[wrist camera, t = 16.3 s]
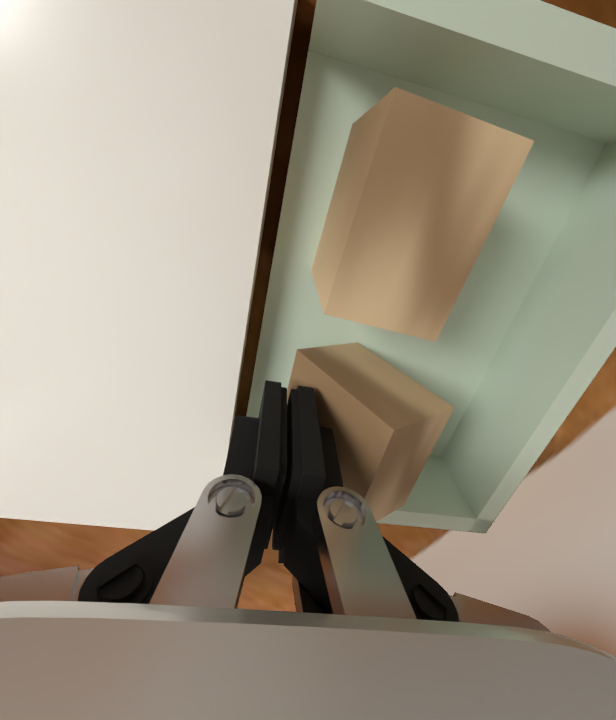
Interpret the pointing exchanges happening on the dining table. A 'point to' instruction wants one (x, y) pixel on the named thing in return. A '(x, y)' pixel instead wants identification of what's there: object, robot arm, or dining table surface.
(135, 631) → the robot arm
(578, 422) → the dining table surface
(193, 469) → the board
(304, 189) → the tray
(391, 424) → the tan block
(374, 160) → the tan faceted block
